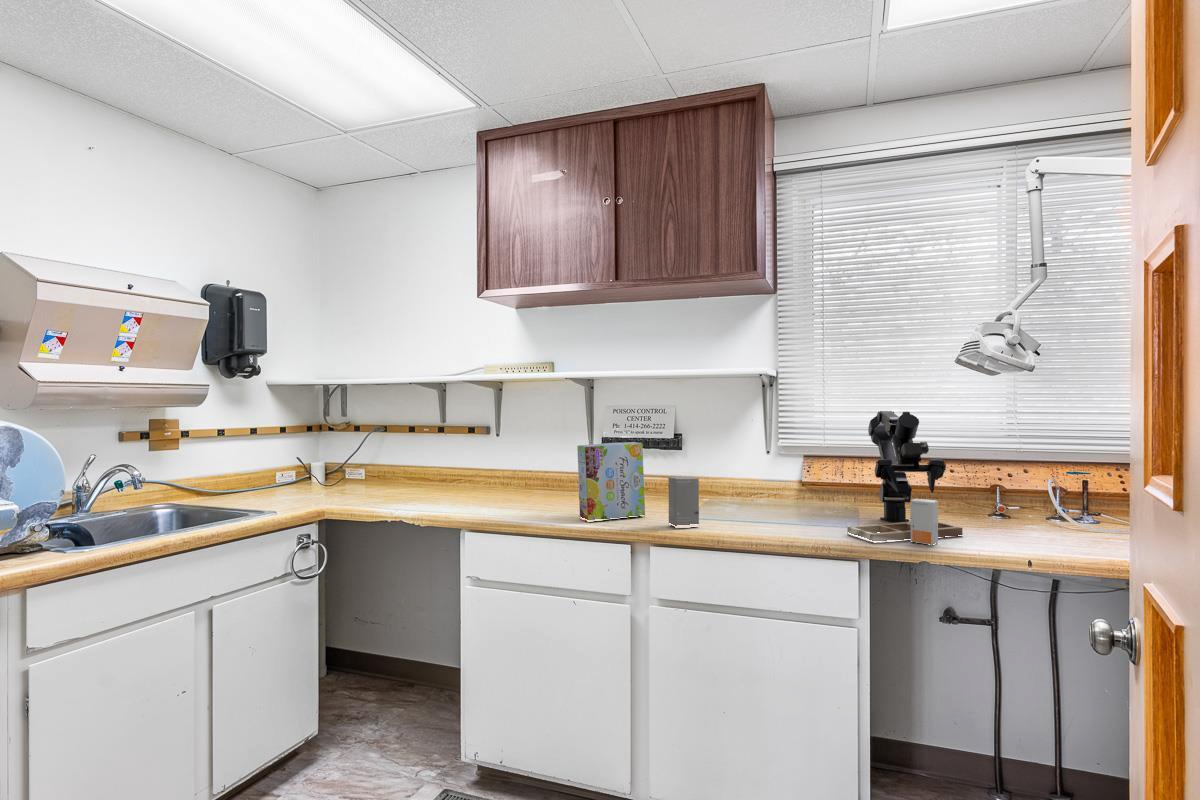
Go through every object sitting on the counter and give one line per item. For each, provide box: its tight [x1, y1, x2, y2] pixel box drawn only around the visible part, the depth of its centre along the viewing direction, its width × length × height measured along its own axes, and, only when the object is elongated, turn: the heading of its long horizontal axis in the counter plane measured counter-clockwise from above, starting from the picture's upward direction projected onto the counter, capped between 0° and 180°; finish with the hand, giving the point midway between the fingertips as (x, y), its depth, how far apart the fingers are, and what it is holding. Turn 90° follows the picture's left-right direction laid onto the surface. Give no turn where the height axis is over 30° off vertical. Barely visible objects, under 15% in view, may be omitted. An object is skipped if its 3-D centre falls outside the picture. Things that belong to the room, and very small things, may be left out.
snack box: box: [576, 441, 646, 520], centre depth 227 cm, size 22×9×26 cm, turn 113°
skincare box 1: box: [667, 476, 700, 526], centre depth 211 cm, size 8×7×16 cm
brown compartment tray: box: [846, 521, 964, 541], centre depth 193 cm, size 12×30×2 cm, turn 104°
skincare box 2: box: [910, 498, 939, 545], centre depth 183 cm, size 6×4×12 cm
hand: (915, 491), depth 191 cm, fingers open, 9 cm apart
